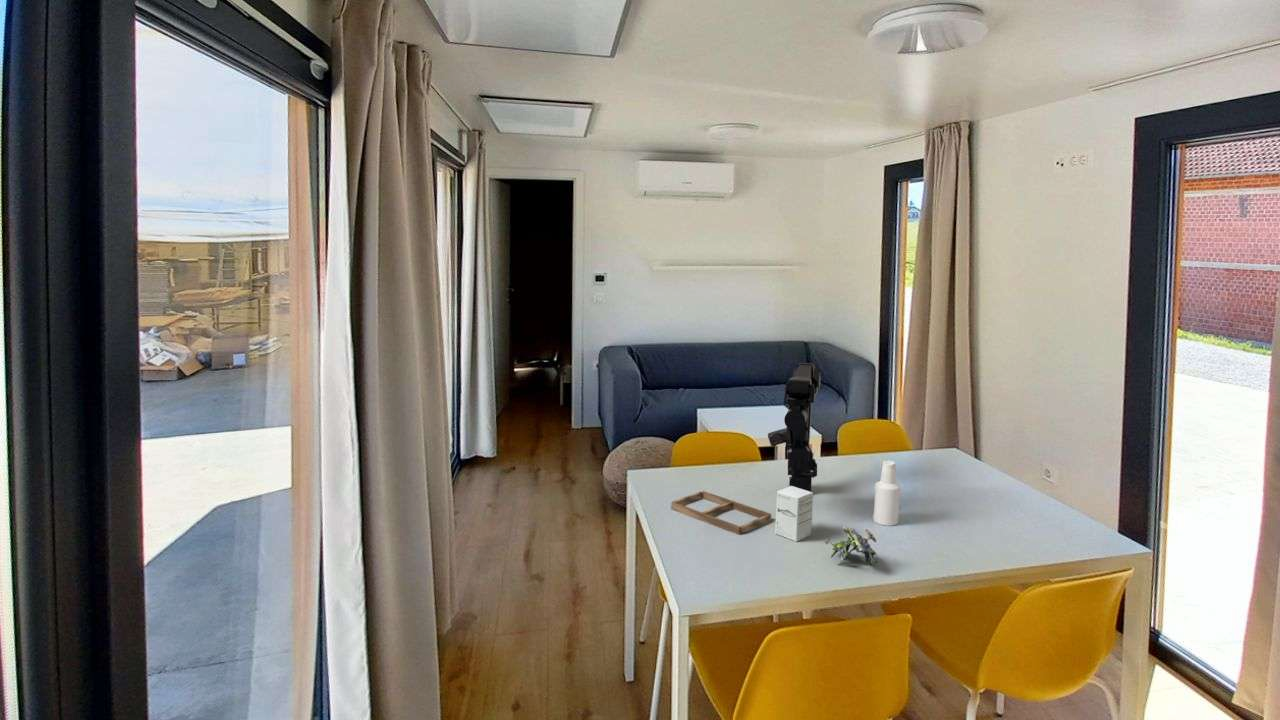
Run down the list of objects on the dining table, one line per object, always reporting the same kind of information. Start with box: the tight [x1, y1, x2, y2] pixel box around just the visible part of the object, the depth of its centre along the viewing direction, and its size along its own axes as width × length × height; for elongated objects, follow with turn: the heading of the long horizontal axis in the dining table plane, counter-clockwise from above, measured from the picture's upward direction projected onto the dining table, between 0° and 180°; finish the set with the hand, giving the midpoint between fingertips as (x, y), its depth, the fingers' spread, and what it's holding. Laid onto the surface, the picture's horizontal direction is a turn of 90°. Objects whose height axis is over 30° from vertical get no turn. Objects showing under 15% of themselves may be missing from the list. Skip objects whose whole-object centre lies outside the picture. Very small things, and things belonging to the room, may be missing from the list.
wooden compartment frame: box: [670, 490, 772, 535], centre depth 204 cm, size 15×27×2 cm, turn 43°
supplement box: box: [774, 486, 814, 542], centre depth 189 cm, size 7×7×13 cm
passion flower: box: [825, 526, 879, 567], centre depth 172 cm, size 11×11×12 cm
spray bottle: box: [872, 459, 901, 527], centre depth 198 cm, size 7×7×18 cm
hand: (795, 473), depth 202 cm, fingers open, 9 cm apart
